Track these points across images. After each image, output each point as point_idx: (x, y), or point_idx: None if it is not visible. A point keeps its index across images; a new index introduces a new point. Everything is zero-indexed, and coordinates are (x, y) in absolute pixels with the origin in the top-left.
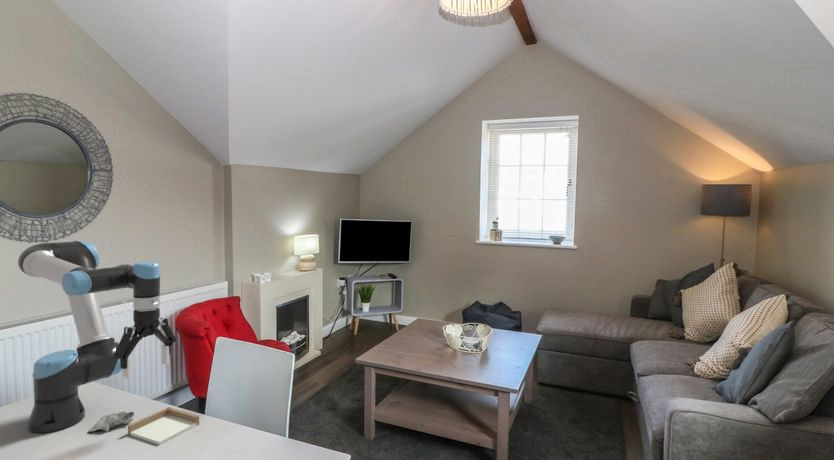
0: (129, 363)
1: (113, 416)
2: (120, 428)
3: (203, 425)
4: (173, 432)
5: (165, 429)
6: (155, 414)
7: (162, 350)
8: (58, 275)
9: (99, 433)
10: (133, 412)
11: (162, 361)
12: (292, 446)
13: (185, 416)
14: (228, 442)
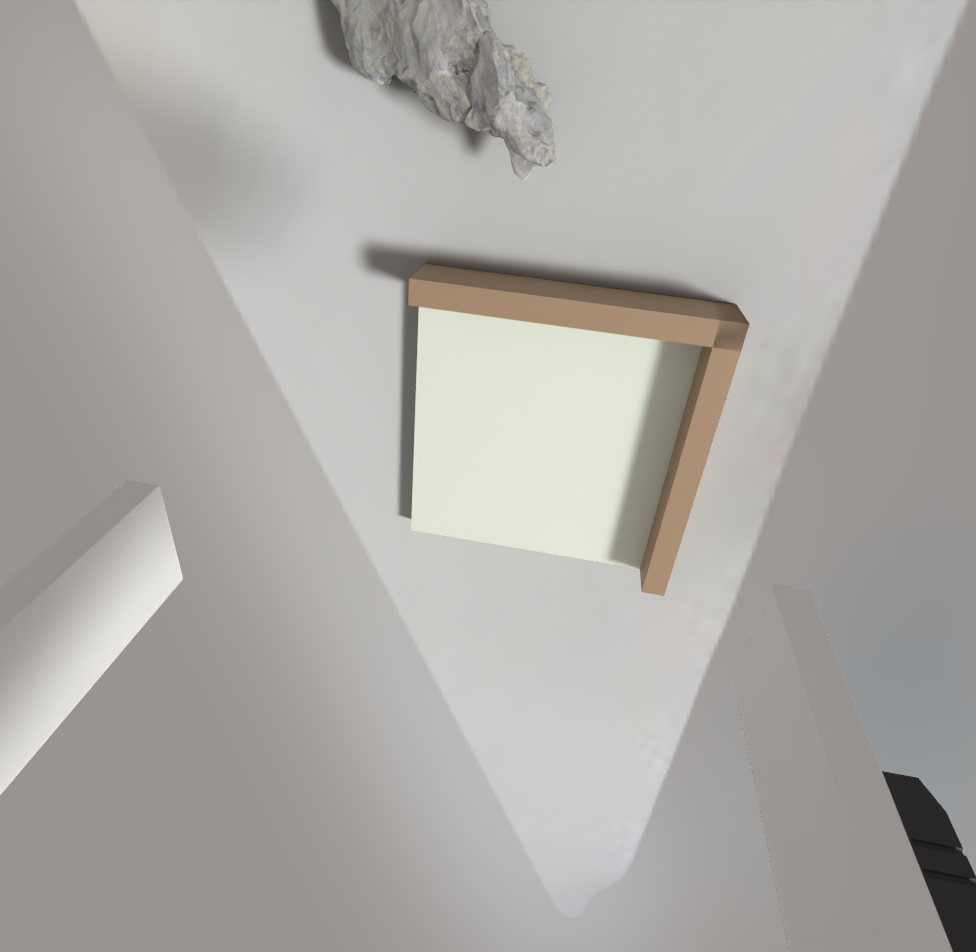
0: (7, 762)
1: (436, 29)
2: None
3: None
4: (510, 529)
5: (522, 469)
6: (608, 326)
7: (837, 834)
8: None
9: None
10: (541, 164)
11: (771, 628)
12: (586, 897)
13: (662, 505)
14: (542, 743)
